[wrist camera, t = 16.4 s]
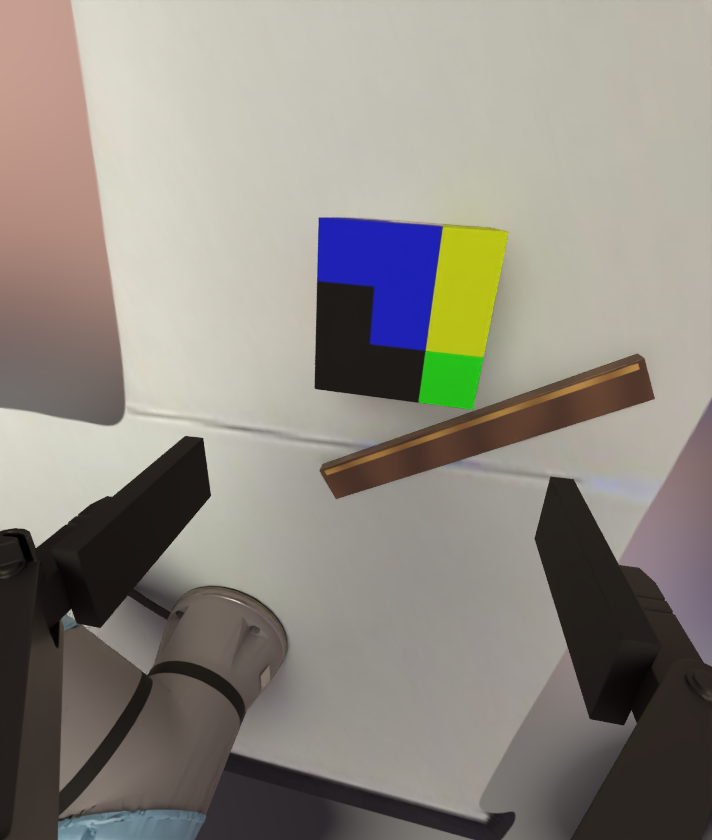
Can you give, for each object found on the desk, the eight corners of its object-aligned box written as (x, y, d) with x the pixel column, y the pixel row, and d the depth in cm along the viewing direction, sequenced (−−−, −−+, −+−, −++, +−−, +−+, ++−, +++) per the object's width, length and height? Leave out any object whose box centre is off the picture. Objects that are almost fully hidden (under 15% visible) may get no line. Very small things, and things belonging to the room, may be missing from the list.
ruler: (338, 492, 43) (335, 500, 42) (322, 463, 42) (318, 471, 41) (648, 393, 34) (655, 399, 32) (637, 353, 33) (645, 358, 31)
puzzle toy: (353, 217, 32) (318, 217, 23) (490, 227, 31) (508, 231, 22) (346, 347, 37) (314, 388, 28) (466, 361, 35) (472, 409, 26)
